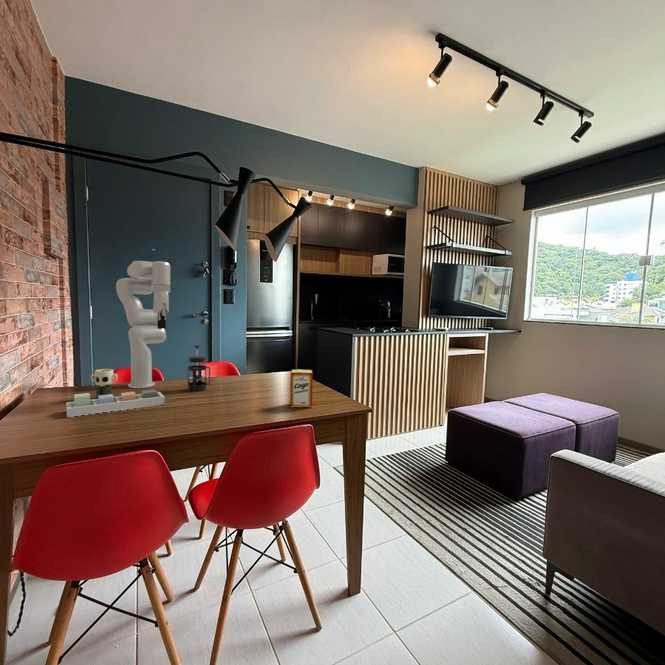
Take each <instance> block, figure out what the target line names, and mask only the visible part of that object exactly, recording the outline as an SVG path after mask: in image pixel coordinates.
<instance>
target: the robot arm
mask: <svg viewBox="0 0 665 665" xmlns="http://www.w3.org/2000/svg"><path fill="white" fill-rule="evenodd" d="M126 272H127V275H128V276H129V277H125V278H119V279H118V280H117V281H116V283H115V289H116V294H117V297H118V298H119V300H120V302H121V304H122V305H123V307H124V312H125V315H126V319H127V322H128V324H129V326H130V329H129V330H128V340H129V345H130V373H131V374H130V376H131V377H130V380H131V381H130V383H128V384H127V387H128V388H129V389H145V388H146V389H147V388H151V387H153V386H156V382H155V381H153V378H152V377H153V376H152V375H153V371H152V370H153V368H152V366H153V364H152V362H153V361H152V360H153V359H152V358H153V357H152V356H153V355H152V351H151V349H150V348H149V347H148V346H147V345H149V344H161V343H164V342H165V341H166V339H167V333H166V328H167V315H166V314H169V309H170V308H169V306H170V303H169V302H170V301H169V298H170V297H169V293H171V264H170V263H169V262H167V261H162V260H157V261H148V260H147V261H146V260H134V261H132V262H131V264H130V265H128V267H127V270H126ZM151 294H153V300H152V301H153V302H152V309H148V308H147V309H146V308H144V307H143V303H142V302H141V301H140V299H139V298H138V297H137V296H134V295H151Z"/></svg>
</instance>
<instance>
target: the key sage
mask: <svg viewBox="0 0 665 665" xmlns="http://www.w3.org/2000/svg"><path fill="white" fill-rule="evenodd" d="M90 400H91V394H90V392H85V393H84V392H83V393H76V394H73V402H74V406H75V407H79V406H88V405H90Z"/></svg>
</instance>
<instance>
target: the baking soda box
mask: <svg viewBox="0 0 665 665" xmlns="http://www.w3.org/2000/svg"><path fill="white" fill-rule="evenodd" d="M313 374H314V373H313V370H312V369H301V368H300V369H290V386H289V388H290V391H289V392H290V394H289V398H290V400H289V407H290V406H312V407H313V379H314V378H313V376H314V375H313Z"/></svg>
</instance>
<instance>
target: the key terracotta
mask: <svg viewBox="0 0 665 665" xmlns="http://www.w3.org/2000/svg"><path fill="white" fill-rule="evenodd" d="M136 394H137V393H136V392H135V391H128V392H121V393H120V396H121V401H128V400H136Z"/></svg>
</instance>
